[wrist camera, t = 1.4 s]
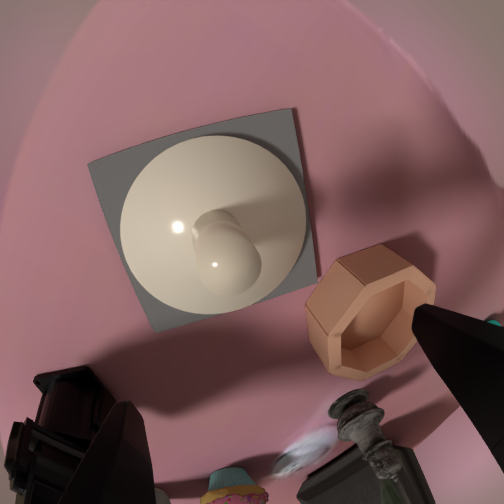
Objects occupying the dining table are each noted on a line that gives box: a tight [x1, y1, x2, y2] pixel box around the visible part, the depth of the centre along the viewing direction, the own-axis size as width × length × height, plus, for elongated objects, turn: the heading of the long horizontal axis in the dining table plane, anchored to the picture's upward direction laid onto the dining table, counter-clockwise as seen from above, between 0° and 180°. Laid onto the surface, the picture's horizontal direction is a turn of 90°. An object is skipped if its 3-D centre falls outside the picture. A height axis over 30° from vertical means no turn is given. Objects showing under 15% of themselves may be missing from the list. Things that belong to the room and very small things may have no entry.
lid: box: [120, 135, 306, 314], centre depth 16 cm, size 11×11×5 cm
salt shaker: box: [328, 389, 402, 482], centre depth 25 cm, size 6×6×12 cm
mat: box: [88, 108, 318, 333], centre depth 18 cm, size 12×12×1 cm
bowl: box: [305, 244, 436, 381], centre depth 22 cm, size 10×10×4 cm
